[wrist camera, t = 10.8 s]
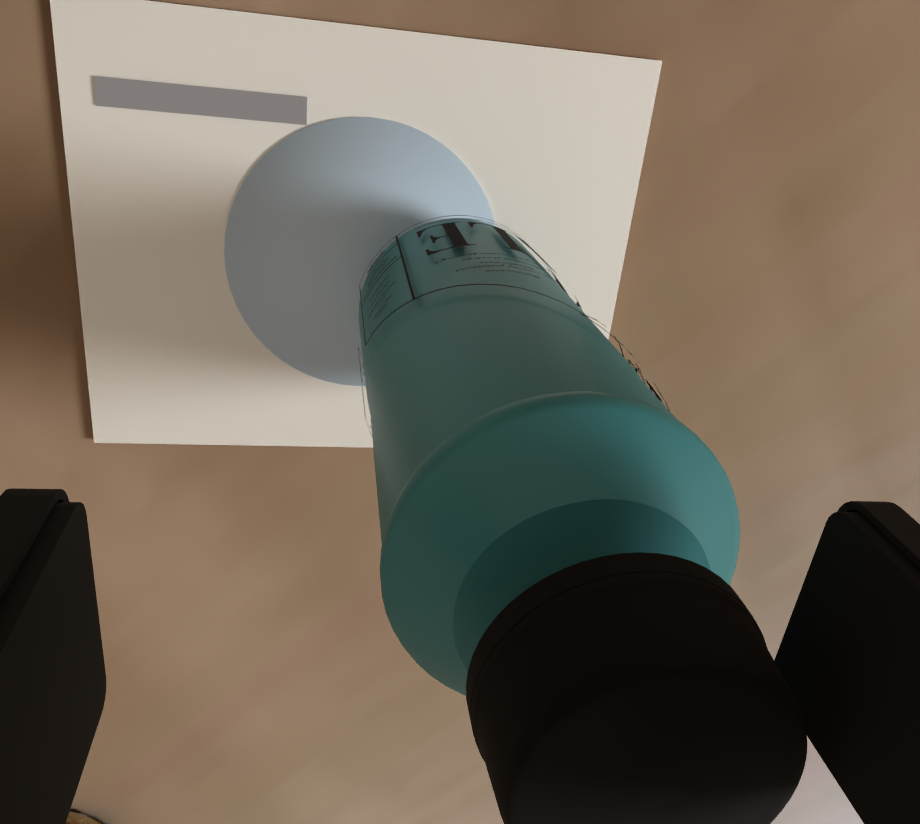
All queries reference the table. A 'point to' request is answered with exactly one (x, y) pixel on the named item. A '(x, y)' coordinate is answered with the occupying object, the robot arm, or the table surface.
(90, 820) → the bread roll
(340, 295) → the drawing sheet
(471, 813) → the table surface
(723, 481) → the beverage bottle
